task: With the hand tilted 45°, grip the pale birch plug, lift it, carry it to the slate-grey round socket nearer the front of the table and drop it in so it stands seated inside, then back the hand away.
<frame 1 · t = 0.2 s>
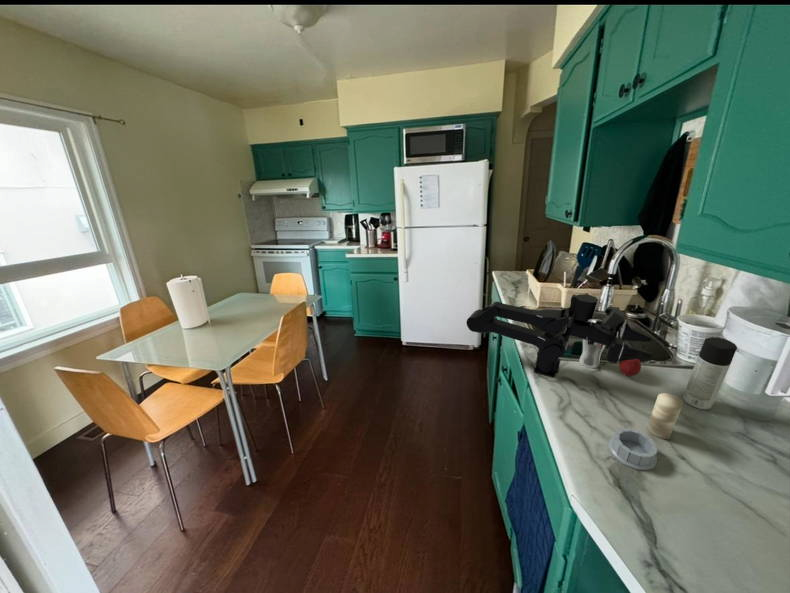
hand: (651, 347, 98), 17 cm above the table, tool horizontal, fingers open, 9 cm apart
birch plug: (658, 431, 93), on the table
beer glass: (589, 363, 121), on the table
round socket: (631, 452, 87), on the table
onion: (627, 375, 114), on the table
spray can: (696, 402, 102), on the table
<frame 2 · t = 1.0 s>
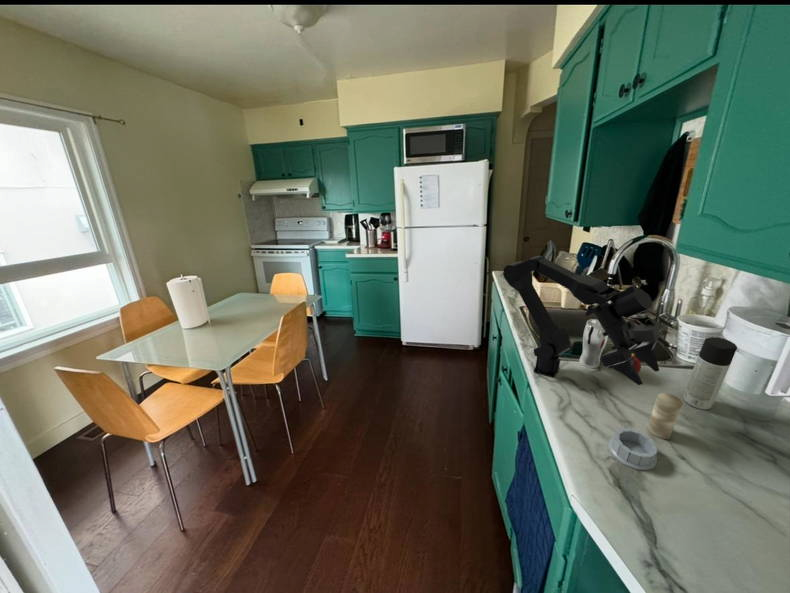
hand: (649, 377, 91), 14 cm above the table, tool tilted 45°, fingers open, 9 cm apart
nothing on the table moved.
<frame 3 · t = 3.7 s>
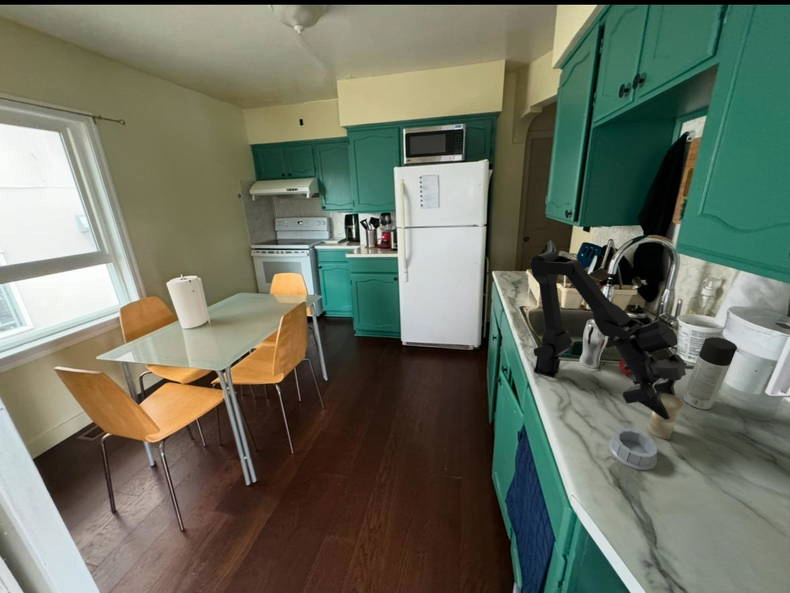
hand: (672, 414, 89), 7 cm above the table, tool tilted 45°, fingers closed on birch plug, 5 cm apart
birch plug: (658, 431, 93), on the table, touching gripper
everything else where it was.
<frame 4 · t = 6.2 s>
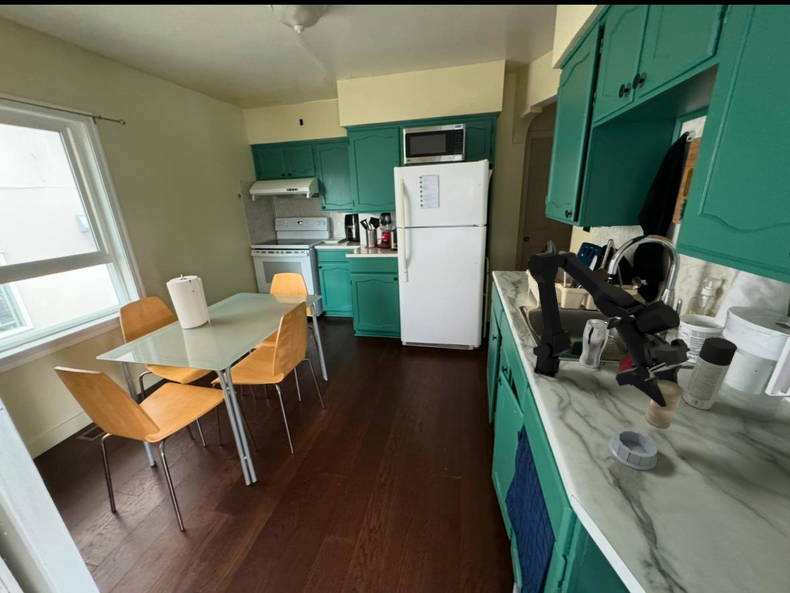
hand: (671, 403, 83), 14 cm above the table, tool tilted 45°, fingers closed on birch plug, 5 cm apart
birch plug: (657, 421, 87), point 7 cm above the table, touching gripper
everything else where it was.
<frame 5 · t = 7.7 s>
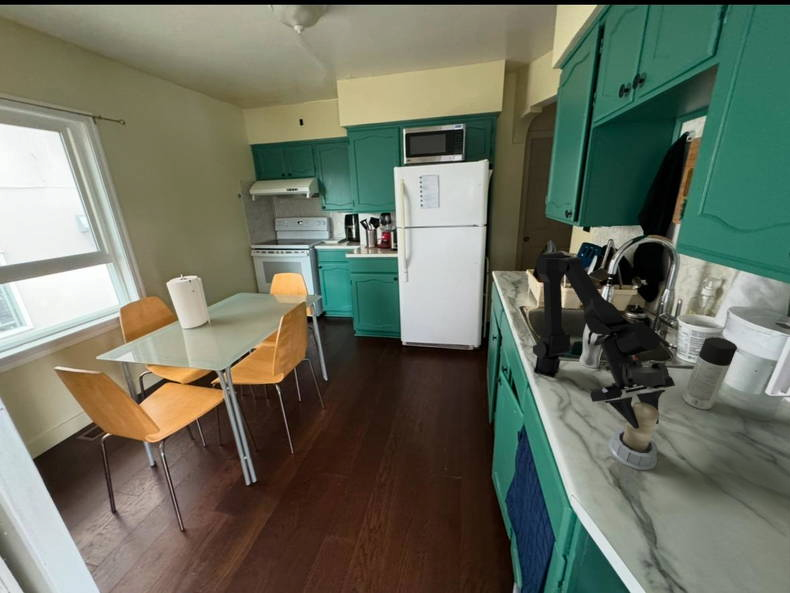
hand: (646, 426, 82), 10 cm above the table, tool tilted 45°, fingers closed on birch plug, 5 cm apart
birch plug: (634, 443, 86), point 3 cm above the table, touching gripper
everything else where it was.
when the fingers open (8 cm above the table, at t = 8.8 s): birch plug stays where it is, resting on round socket.
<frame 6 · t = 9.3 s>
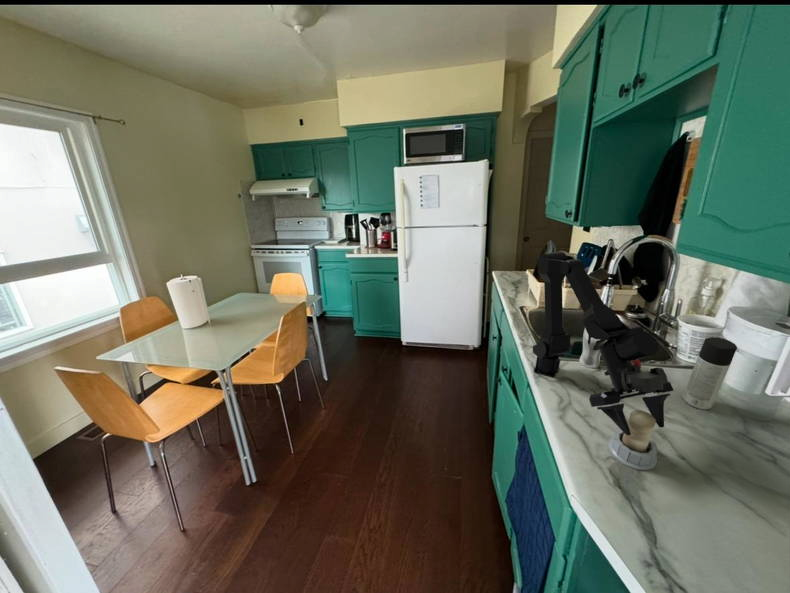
hand: (645, 431, 82), 8 cm above the table, tool tilted 45°, fingers open, 9 cm apart
birch plug: (631, 450, 87), point 1 cm above the table, touching round socket
everything else where it was.
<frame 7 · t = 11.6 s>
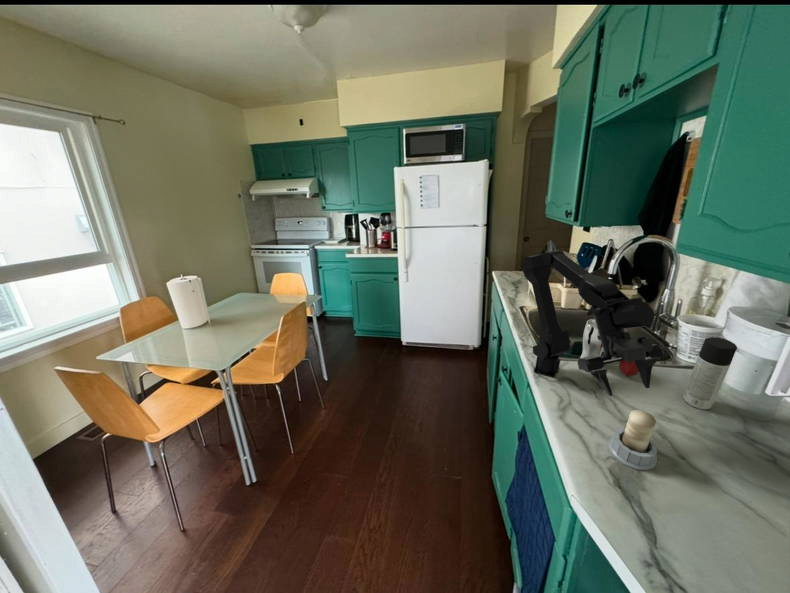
hand: (629, 391, 89), 12 cm above the table, tool tilted 35°, fingers open, 9 cm apart
nothing on the table moved.
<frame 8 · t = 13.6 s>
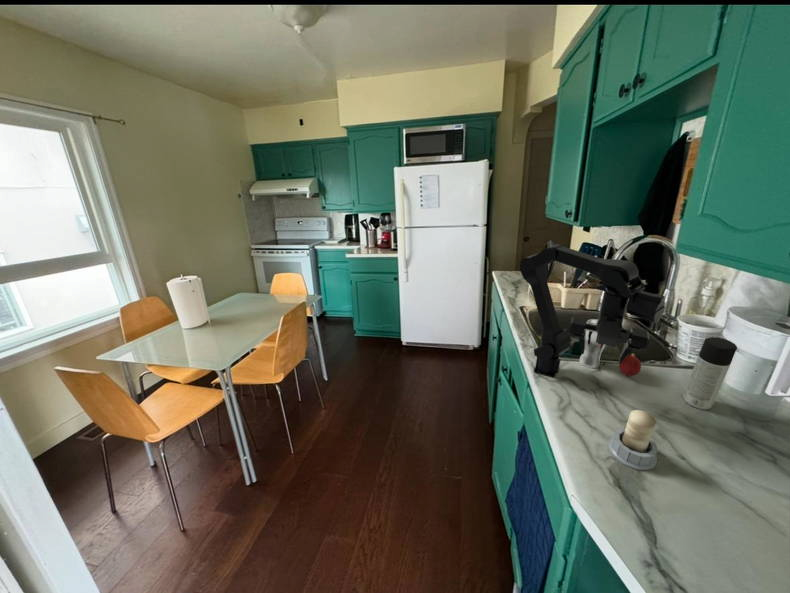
hand: (601, 357, 101), 13 cm above the table, tool pointing down, fingers open, 9 cm apart
nothing on the table moved.
at the end: birch plug 0.1 cm off-centre on the round socket, point 0.6 cm above the round socket's base; birch plug tilted 0°; the gripper is holding nothing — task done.
